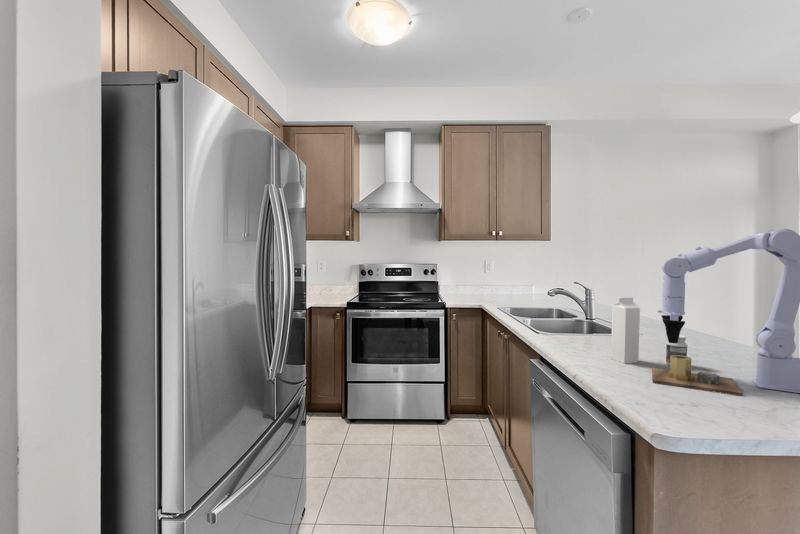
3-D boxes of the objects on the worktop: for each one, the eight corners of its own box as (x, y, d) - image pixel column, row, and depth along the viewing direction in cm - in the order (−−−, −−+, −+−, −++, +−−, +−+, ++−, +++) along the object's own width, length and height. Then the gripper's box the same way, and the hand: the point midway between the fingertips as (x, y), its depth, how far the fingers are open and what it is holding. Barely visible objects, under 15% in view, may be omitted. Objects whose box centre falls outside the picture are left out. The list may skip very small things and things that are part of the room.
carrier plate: (732, 381, 118) (732, 368, 118) (741, 395, 107) (742, 381, 106) (651, 370, 129) (652, 358, 129) (652, 382, 117) (652, 369, 117)
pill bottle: (666, 361, 139) (667, 333, 138) (687, 364, 135) (688, 335, 135) (664, 365, 134) (665, 335, 134) (685, 368, 131) (687, 338, 130)
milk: (638, 362, 138) (641, 298, 137) (624, 363, 136) (626, 298, 135) (624, 357, 144) (626, 296, 143) (610, 359, 142) (612, 296, 141)
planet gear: (691, 376, 120) (692, 356, 120) (694, 382, 115) (694, 361, 115) (666, 372, 123) (667, 353, 123) (667, 378, 118) (668, 358, 118)
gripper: (657, 293, 133) (656, 334, 133) (658, 298, 120) (657, 343, 121) (683, 295, 129) (682, 337, 130) (687, 300, 117) (686, 346, 117)
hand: (672, 340), depth 125 cm, fingers open, 7 cm apart
